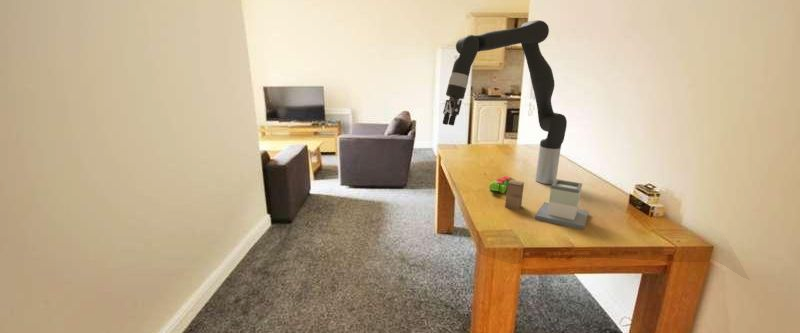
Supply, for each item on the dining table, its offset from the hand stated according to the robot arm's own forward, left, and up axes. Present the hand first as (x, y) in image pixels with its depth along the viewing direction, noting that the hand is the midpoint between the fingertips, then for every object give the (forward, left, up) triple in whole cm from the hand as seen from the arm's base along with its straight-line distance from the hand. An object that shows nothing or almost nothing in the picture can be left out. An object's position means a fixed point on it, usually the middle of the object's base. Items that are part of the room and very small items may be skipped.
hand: (447, 124), depth 148 cm
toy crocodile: (-19, +20, -30) cm, 41 cm away
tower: (-1, +48, -30) cm, 56 cm away
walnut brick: (-1, +30, -30) cm, 42 cm away
